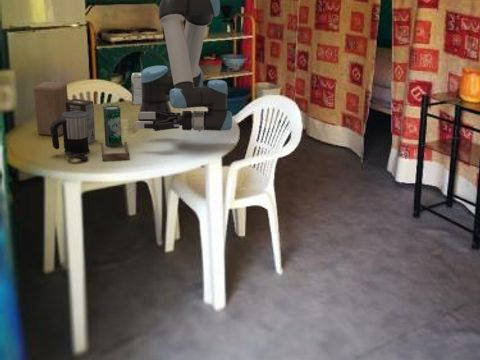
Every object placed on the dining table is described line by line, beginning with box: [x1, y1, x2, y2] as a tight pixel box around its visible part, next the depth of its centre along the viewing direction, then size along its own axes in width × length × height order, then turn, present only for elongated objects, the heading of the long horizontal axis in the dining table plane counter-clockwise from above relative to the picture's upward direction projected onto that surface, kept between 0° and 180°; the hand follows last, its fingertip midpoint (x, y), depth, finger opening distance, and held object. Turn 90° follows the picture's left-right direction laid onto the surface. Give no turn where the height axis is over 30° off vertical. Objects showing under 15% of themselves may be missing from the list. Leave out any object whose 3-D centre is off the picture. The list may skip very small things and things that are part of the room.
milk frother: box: [50, 111, 90, 161], centre depth 225 cm, size 14×16×15 cm
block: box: [33, 81, 69, 137], centre depth 250 cm, size 10×10×20 cm
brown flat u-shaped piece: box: [100, 141, 130, 162], centre depth 229 cm, size 10×14×2 cm
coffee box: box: [66, 98, 96, 145], centre depth 241 cm, size 9×6×16 cm
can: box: [103, 104, 123, 148], centre depth 238 cm, size 6×6×15 cm
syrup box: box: [130, 72, 142, 106], centre depth 298 cm, size 6×6×14 cm
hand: (137, 120), depth 237 cm, fingers open, 13 cm apart
